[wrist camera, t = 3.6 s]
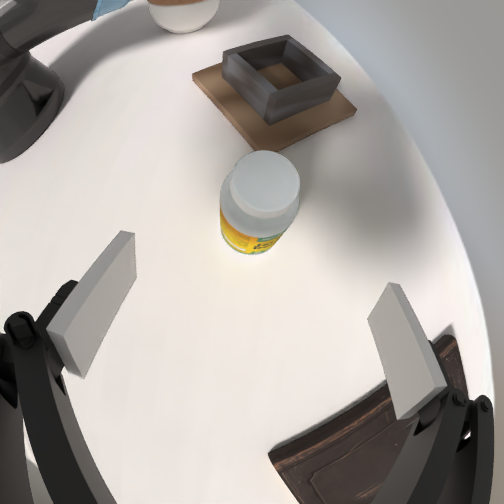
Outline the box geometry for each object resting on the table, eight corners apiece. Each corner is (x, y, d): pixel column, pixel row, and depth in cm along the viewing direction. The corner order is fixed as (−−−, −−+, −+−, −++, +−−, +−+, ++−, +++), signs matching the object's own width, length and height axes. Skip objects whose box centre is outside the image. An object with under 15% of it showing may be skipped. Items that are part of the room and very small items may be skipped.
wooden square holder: (192, 80, 28) (190, 48, 23) (283, 50, 31) (290, 22, 26) (262, 159, 26) (271, 128, 21) (353, 115, 29) (370, 88, 24)
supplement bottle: (250, 188, 25) (266, 125, 16) (291, 228, 25) (330, 183, 16) (207, 225, 24) (200, 175, 15) (249, 269, 24) (268, 242, 15)
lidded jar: (140, 28, 30) (132, -16, 21) (194, 6, 32) (194, -35, 23) (174, 49, 29) (169, -4, 20) (234, 25, 31) (239, -23, 22)
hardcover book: (462, 425, 23) (472, 428, 21) (320, 527, 19) (326, 537, 17) (441, 333, 25) (454, 334, 23) (266, 450, 21) (270, 461, 19)
